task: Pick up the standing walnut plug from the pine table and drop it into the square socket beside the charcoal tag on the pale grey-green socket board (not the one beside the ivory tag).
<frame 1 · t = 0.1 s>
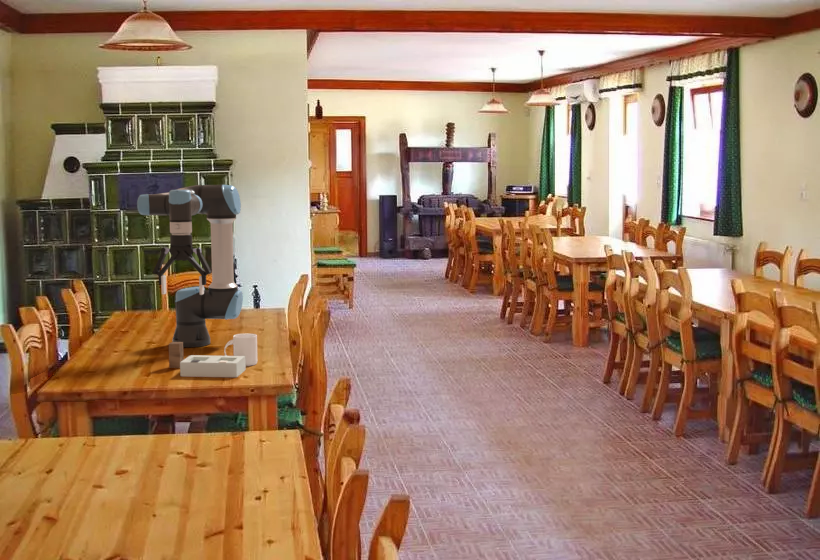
hand: (182, 294, 337), 28 cm above the table, fingers open, 13 cm apart
socket board: (213, 373, 337), on the table
plug: (176, 367, 347), on the table
mug: (241, 364, 352), on the table
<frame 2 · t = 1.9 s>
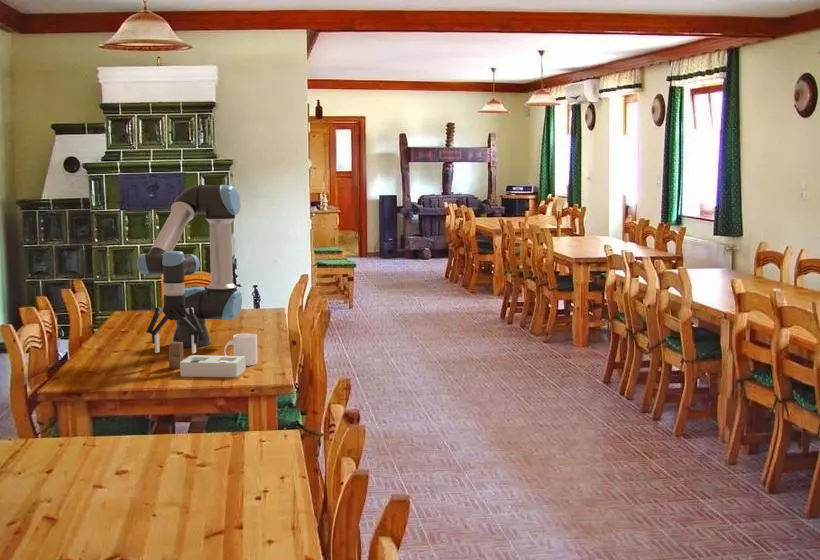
hand: (175, 352, 346), 6 cm above the table, fingers open, 13 cm apart
nothing on the table moved.
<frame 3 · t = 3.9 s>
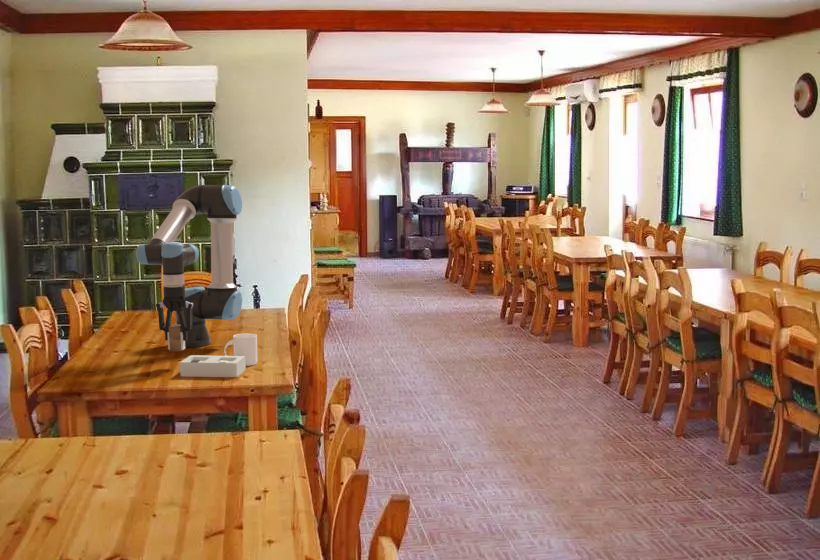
hand: (176, 349, 346), 7 cm above the table, fingers closed on plug, 4 cm apart
plug: (177, 349, 347), point 6 cm above the table, touching gripper
everything else where it was.
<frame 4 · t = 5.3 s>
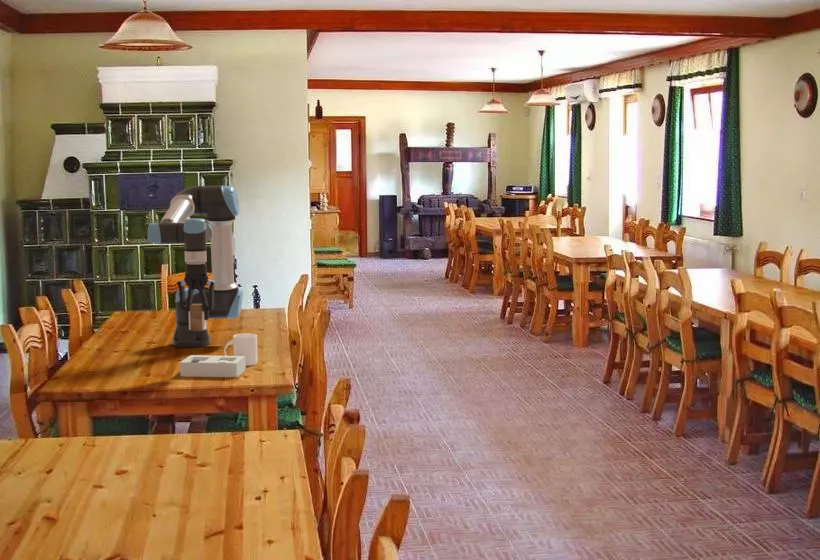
hand: (197, 329, 336), 16 cm above the table, fingers closed on plug, 4 cm apart
plug: (198, 329, 336), point 15 cm above the table, touching gripper
everything else where it was.
when the fingers open (6 cm above the table, at t = 7.2 s): plug drops 5 cm, resting on socket board.
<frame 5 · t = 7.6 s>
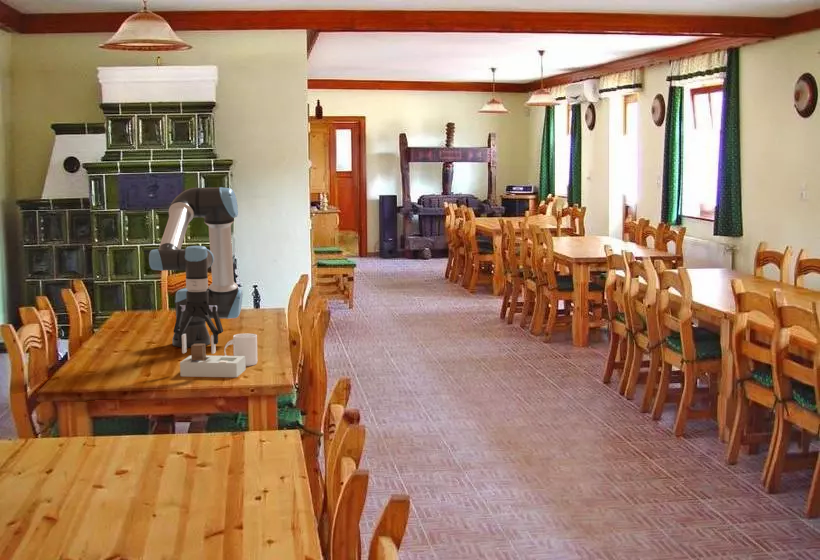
hand: (199, 352, 337), 7 cm above the table, fingers open, 10 cm apart
plug: (199, 369, 338), point 1 cm above the table, touching socket board
everything else where it was.
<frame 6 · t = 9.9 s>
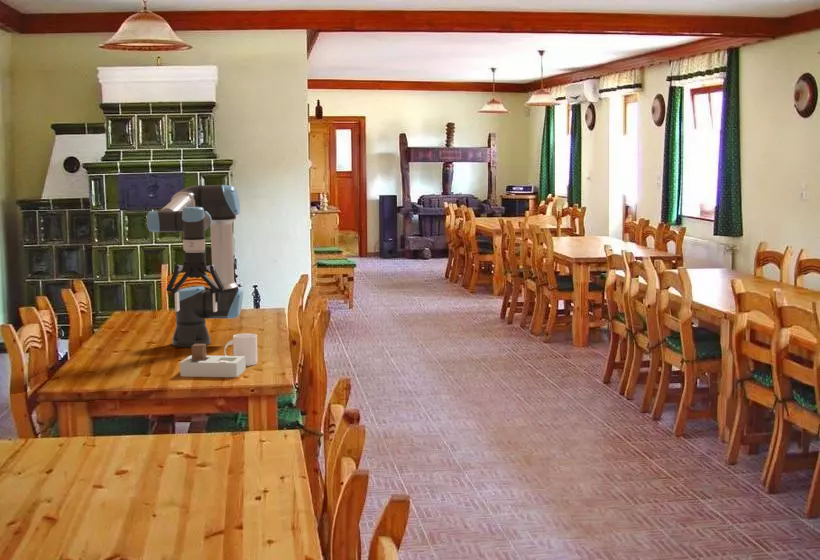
hand: (196, 311, 337), 22 cm above the table, fingers open, 13 cm apart
nothing on the table moved.
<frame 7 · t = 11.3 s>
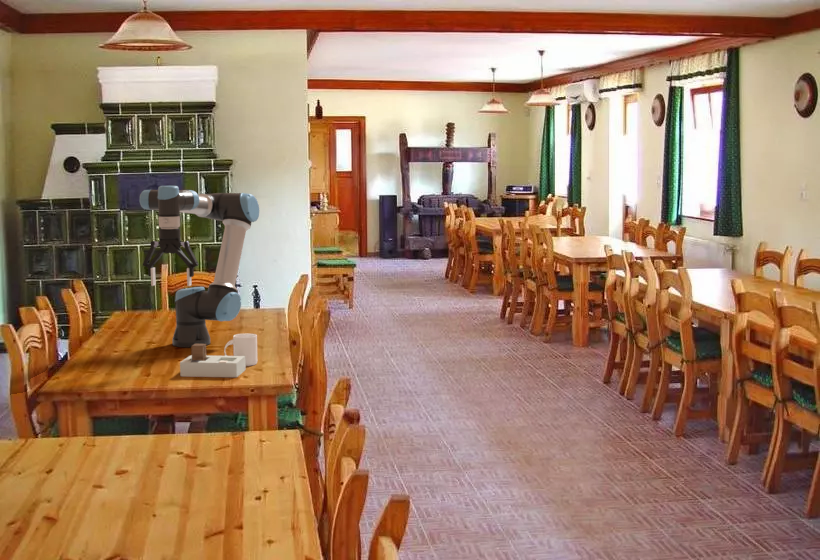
hand: (171, 285, 352), 29 cm above the table, fingers open, 13 cm apart
nothing on the table moved.
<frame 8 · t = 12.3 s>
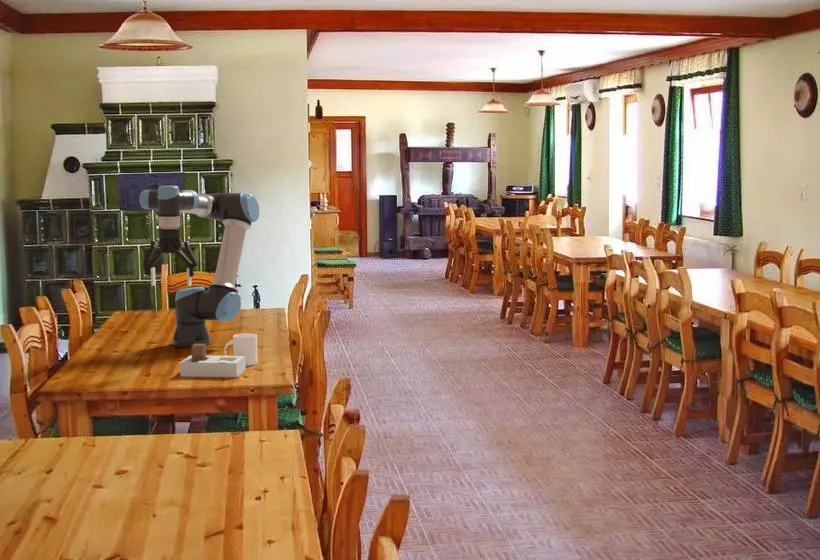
hand: (171, 285, 352), 29 cm above the table, fingers open, 13 cm apart
nothing on the table moved.
at the end: plug 0.2 cm from the target spot on the socket board, point 1.0 cm above the socket board's base; plug tilted 0°; the gripper is holding nothing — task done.
